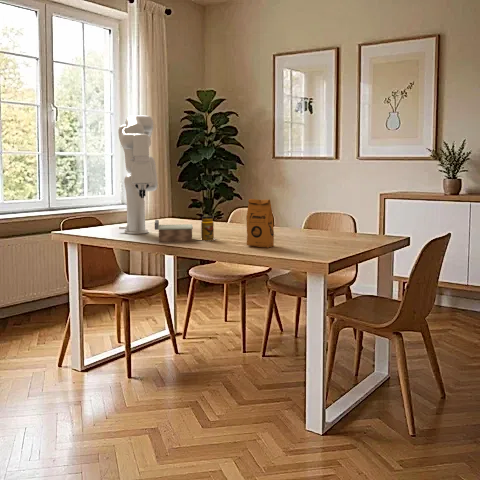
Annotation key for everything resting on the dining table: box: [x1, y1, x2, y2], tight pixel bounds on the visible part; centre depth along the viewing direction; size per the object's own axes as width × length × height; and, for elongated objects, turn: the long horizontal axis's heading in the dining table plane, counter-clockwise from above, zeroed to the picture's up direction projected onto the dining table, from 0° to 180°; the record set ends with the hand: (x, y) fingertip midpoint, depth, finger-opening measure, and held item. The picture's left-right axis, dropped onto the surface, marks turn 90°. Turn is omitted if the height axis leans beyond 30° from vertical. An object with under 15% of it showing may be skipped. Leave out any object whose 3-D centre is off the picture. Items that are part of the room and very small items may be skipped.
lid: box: [154, 219, 193, 231], centre depth 307 cm, size 18×12×3 cm
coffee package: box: [245, 198, 275, 249], centre depth 287 cm, size 10×12×22 cm
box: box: [158, 229, 193, 243], centre depth 308 cm, size 16×12×6 cm
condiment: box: [200, 215, 216, 242], centre depth 309 cm, size 7×8×12 cm
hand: (142, 197), depth 304 cm, fingers closed
